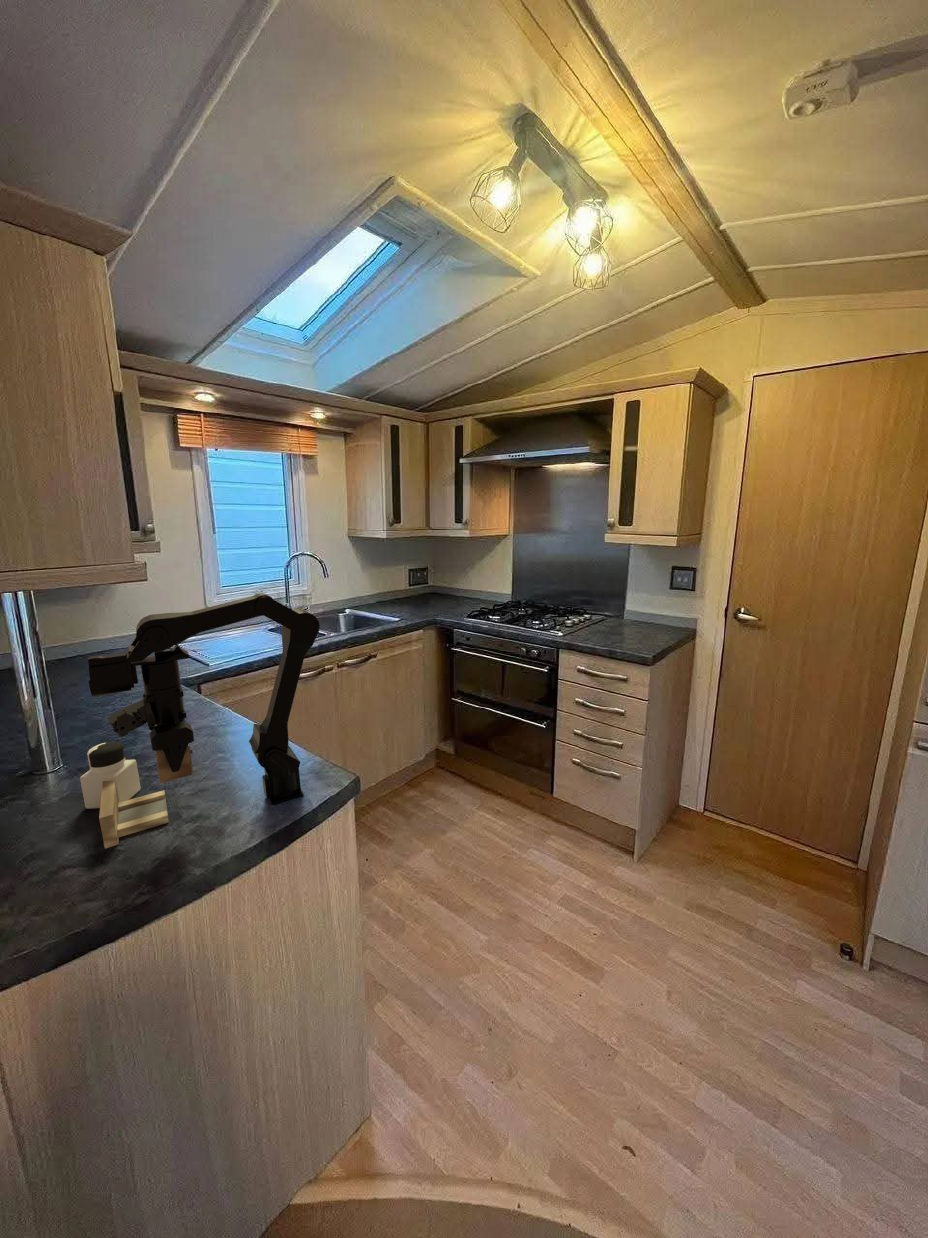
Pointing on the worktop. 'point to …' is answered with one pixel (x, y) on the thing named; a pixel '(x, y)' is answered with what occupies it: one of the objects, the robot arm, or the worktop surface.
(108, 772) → the medicine bottle
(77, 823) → the worktop surface
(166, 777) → the cabinet block
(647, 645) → the worktop surface
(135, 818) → the cleat board
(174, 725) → the robot arm
